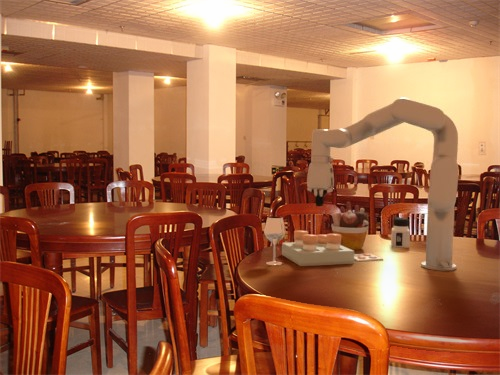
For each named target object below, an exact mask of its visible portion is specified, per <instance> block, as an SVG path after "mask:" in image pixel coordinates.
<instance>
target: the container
mask: <svg viewBox="0 0 500 375" xmlns="http://www.w3.org/2000/svg"><path fill="white" fill-rule="evenodd" d="M390 236H391V238H390V239H391V240H390V241H391V242H390V245H391V247H392V248H401V249H402V248H403V249H404V248H406V249H409V248H410V245H411V239H410V238H411V231H410V229H409V219H408V218H405V217H394V219H393V227H391V235H390Z"/></svg>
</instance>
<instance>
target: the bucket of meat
mask: <svg viewBox="0 0 500 375" xmlns="http://www.w3.org/2000/svg"><path fill="white" fill-rule="evenodd" d="M345 204H346V205H345V206H346V209H345V207H344V206H340V208H339V211H340V212H338V211H337V212H334V213H331V217H332V222H333V223H331V224H330V225H331V229H332V230H331V232H332V234H340V235H341V243H340V245H342V246H344V247H346V248H349V249H351V250H353V251H359V250H362V248H364V245H365V241H366V239H367V238H366V237H367V234H368V230H369V224H370V223H369V214H368V213H365V208H364V207H360V206H359V205H358V204H356V205H355V206H354V212H352V211H353V210H352V204H351V202H350V201H347V202H346V203H345Z"/></svg>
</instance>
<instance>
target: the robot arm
mask: <svg viewBox="0 0 500 375" xmlns="http://www.w3.org/2000/svg"><path fill="white" fill-rule="evenodd" d="M404 123H406V124H409V125H412V126H415V127H419V128H422V129H425V130H426V131H429V132H430V133H431V134H432V136H433V153H432V161H431V164H430V171H429V172H430V175H429V183H428V184H429V186H428V193H427V194H428V195H427V215H426V216H427V217H426V218H427V220H426V221H427V222H426V242H425V243H426V245H425V261H422V262H421V264H420V265H421V267H422V268H424V269H427V270H432V271H443V272H444V271H446V272H447V271H454V270H456V269H457V265H456V264H455V263H453V251H454V247H453V246H454V245H453V244H454V231H455V230H454V228H455V204H456V202H457V201H456V200H457V193H458V185H459V183H458V182H459V174H460V173H459V171H460V170H459V164H458V150H459V148H458V147H459V146H458V145H459V134H458V130H457V126H456V124H455V123H454V121H453V120H452V118H450V117H449V116H448V115H447V114H445V112H444V111H443V110H442V109H441V108H438V107H435V106H432V105H429V104H426V103H423V102H419V101H417V100H413V99H410V98H407V97H400V98H397V99H395V100H394V101H393V102H392V103H390V104H388V105H385V106H384V107H382V108H379V109H376V110H375V111H372V112H370V113H368V114H366V115H365V116H364V117H363V118H362V119H361V120H359V121H357V122H355V123H353V124H351V125H349V126H347V127H344V128H335V129H327V128H326V129H325V128H324V129H313V130H312V132H311V154H310V157H311V158H310V159H311V160H310V163H309V166H308V171H307V177H306V178H307V180H306V183H307V184H306V186H307V188H306V190H307V191H308V192H312V194H313V195H314V197H315V198H314V200H315V202H314V203H315V206H316V207H323V206H324V204H325V201H324V200H325V196H326V195H327V194H328V193H332V192H333V191H334V190H333V189H334V188H335V187H334V186H335V178H334V176H335V175H334V169H333V168H334V167H333V163H332V162H333V161H334V157H332V156H331V148H334V149H346V148H348V147H350V146H353V145H354V144H357V143H359V142H362V141H363V140H366V139H369V138H371V137H374V136H377V135H379V134H380V133H383V132H385V131H387V130H391V129H392V128H394V127H397V126H400V125H401V124H404Z"/></svg>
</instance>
